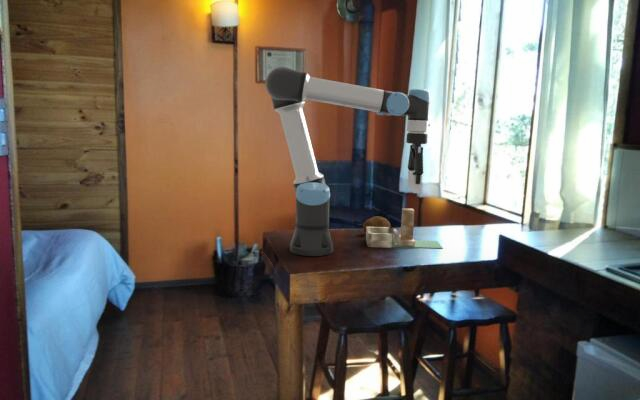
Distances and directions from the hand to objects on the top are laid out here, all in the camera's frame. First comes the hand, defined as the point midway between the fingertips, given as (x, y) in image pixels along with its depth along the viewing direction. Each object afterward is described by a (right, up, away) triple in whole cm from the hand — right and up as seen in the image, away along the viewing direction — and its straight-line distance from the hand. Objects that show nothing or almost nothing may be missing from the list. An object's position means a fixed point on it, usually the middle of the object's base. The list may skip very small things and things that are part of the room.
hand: (413, 190), depth 192 cm
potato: (-12, -18, +17) cm, 28 cm away
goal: (-12, -20, +4) cm, 24 cm away
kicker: (-3, -20, +3) cm, 21 cm away
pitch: (-2, -20, +4) cm, 21 cm away
